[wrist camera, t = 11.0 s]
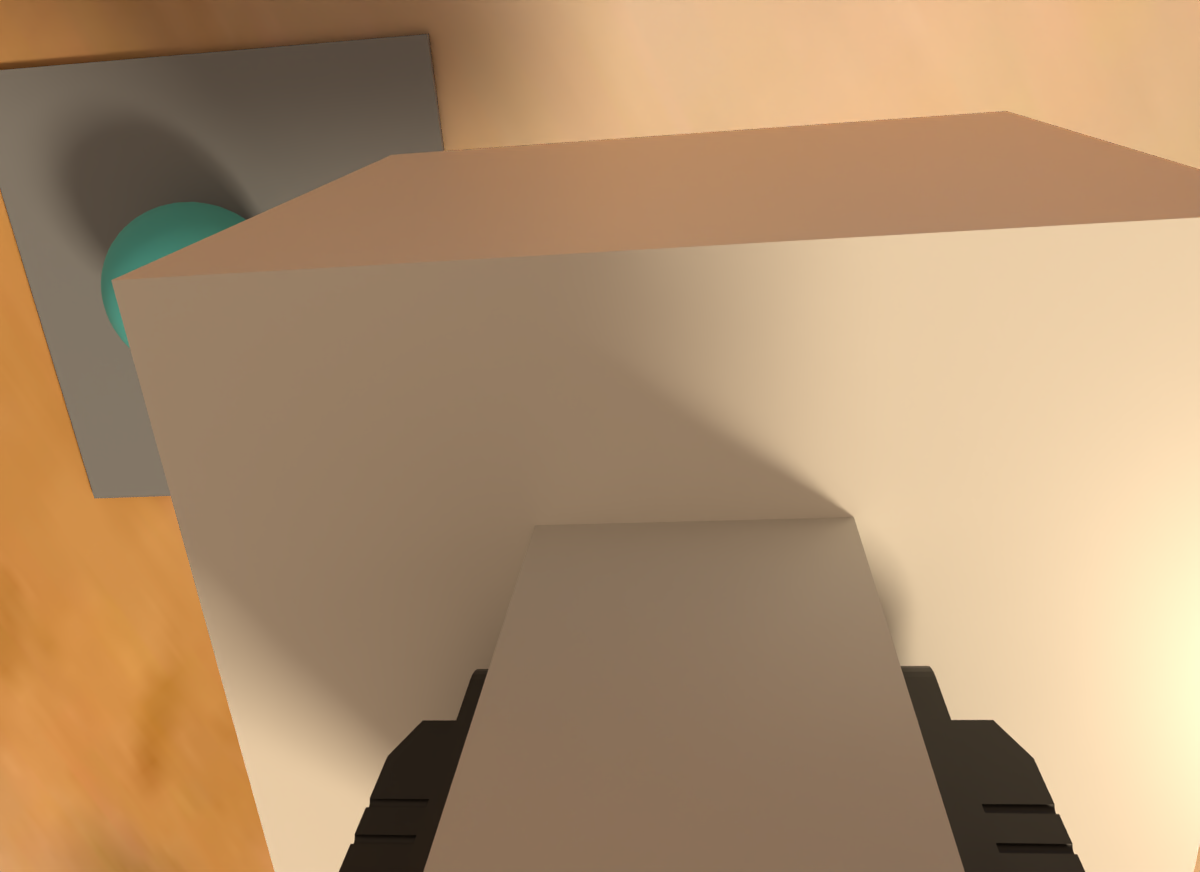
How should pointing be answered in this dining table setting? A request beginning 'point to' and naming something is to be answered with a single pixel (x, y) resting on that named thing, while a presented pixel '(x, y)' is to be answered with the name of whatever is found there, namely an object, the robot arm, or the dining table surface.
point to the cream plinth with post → (700, 489)
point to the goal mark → (179, 185)
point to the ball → (157, 243)
